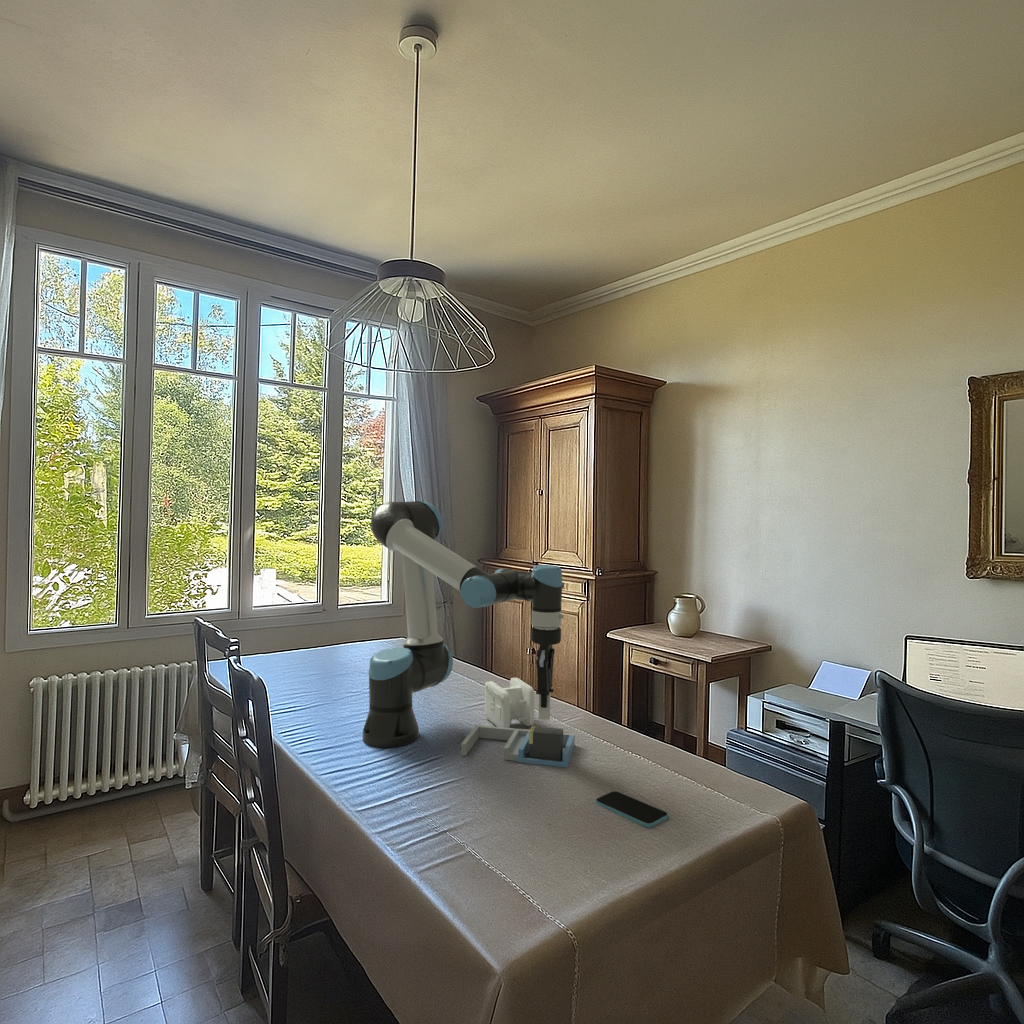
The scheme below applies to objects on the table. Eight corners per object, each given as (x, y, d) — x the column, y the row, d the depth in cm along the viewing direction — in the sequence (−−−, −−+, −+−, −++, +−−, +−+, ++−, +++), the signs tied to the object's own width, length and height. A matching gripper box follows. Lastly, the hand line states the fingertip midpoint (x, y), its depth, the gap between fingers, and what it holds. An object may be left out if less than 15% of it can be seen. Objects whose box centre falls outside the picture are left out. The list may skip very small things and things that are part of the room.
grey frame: (460, 756, 165) (460, 744, 164) (475, 735, 179) (476, 724, 179) (566, 767, 158) (567, 755, 158) (574, 744, 173) (574, 733, 172)
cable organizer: (536, 729, 184) (536, 689, 183) (502, 735, 179) (502, 693, 179) (514, 713, 197) (515, 675, 197) (482, 718, 193) (482, 679, 193)
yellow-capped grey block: (528, 759, 163) (528, 731, 163) (531, 752, 167) (532, 726, 167) (560, 762, 162) (560, 734, 161) (562, 756, 166) (563, 728, 165)
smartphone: (614, 790, 146) (670, 813, 134) (614, 794, 146) (670, 818, 134) (593, 799, 141) (649, 825, 130) (593, 804, 141) (649, 830, 130)
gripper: (557, 633, 156) (554, 729, 157) (564, 622, 169) (562, 711, 170) (526, 631, 158) (524, 726, 159) (536, 620, 171) (534, 708, 172)
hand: (544, 718), depth 164 cm, fingers closed
